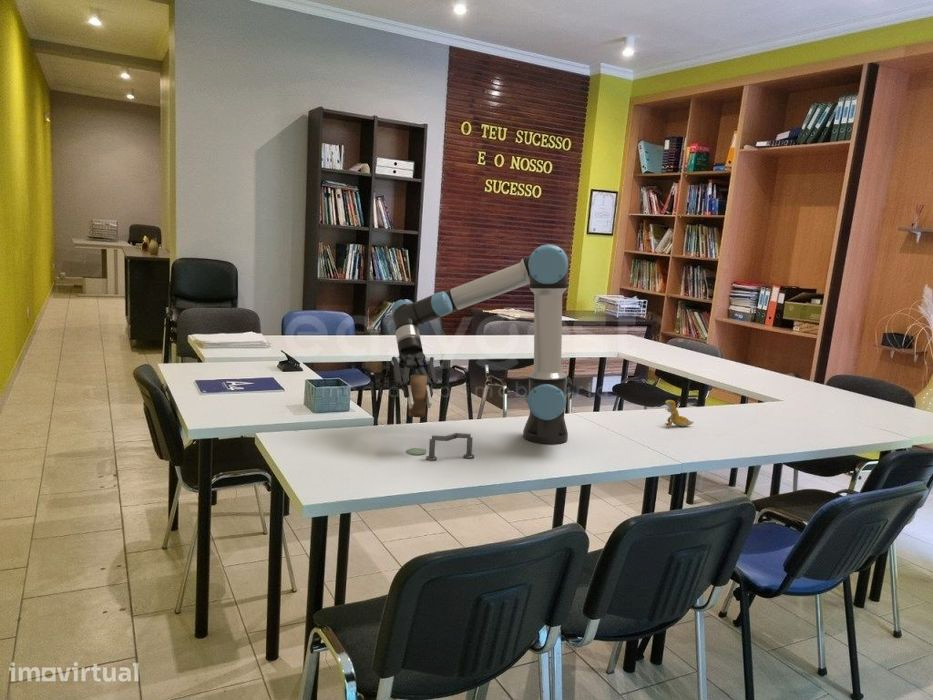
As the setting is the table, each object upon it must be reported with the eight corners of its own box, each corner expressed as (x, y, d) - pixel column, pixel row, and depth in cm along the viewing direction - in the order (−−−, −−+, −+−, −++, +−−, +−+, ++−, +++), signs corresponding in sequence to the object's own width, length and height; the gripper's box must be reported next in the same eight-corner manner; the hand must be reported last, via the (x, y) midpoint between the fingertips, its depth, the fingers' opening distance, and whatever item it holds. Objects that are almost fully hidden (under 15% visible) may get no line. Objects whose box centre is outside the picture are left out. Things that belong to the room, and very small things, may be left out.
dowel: (428, 415, 203) (430, 376, 201) (418, 418, 199) (420, 378, 197) (414, 412, 205) (416, 373, 204) (405, 415, 201) (407, 376, 199)
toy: (650, 416, 256) (663, 394, 253) (680, 429, 261) (694, 408, 259) (658, 424, 250) (672, 401, 248) (688, 437, 255) (703, 415, 253)
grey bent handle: (470, 454, 204) (471, 431, 203) (475, 458, 201) (477, 435, 200) (424, 457, 198) (425, 434, 197) (429, 461, 195) (430, 438, 194)
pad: (426, 450, 207) (426, 448, 206) (425, 455, 201) (425, 454, 201) (407, 448, 207) (407, 447, 206) (405, 454, 201) (405, 453, 201)
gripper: (433, 350, 217) (446, 411, 204) (378, 349, 211) (388, 413, 198) (439, 336, 211) (452, 398, 198) (383, 335, 205) (393, 399, 192)
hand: (420, 405), depth 198 cm, fingers closed on dowel, 5 cm apart
